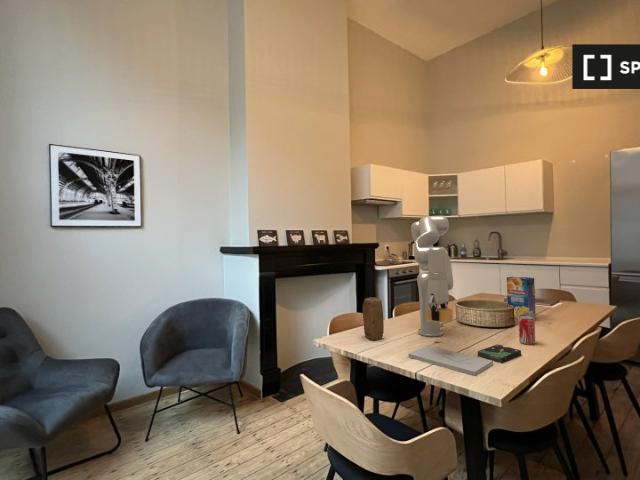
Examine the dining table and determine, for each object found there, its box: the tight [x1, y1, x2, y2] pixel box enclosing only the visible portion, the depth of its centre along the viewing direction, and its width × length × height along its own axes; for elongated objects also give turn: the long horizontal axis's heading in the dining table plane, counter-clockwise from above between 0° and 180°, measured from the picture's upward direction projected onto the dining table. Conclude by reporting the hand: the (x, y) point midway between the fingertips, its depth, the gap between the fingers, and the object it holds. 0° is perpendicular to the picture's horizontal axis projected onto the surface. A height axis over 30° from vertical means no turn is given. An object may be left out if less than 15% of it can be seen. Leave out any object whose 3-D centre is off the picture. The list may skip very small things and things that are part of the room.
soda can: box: [518, 316, 536, 346], centre depth 155 cm, size 6×6×12 cm
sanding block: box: [427, 307, 454, 324], centre depth 144 cm, size 6×9×5 cm, turn 52°
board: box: [407, 344, 494, 377], centre depth 137 cm, size 15×28×2 cm, turn 41°
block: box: [362, 296, 385, 341], centre depth 172 cm, size 11×8×20 cm
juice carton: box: [506, 275, 537, 321], centre depth 199 cm, size 12×8×24 cm, turn 30°
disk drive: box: [477, 344, 522, 364], centre depth 141 cm, size 10×3×15 cm
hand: (439, 318), depth 144 cm, fingers closed on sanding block, 6 cm apart
